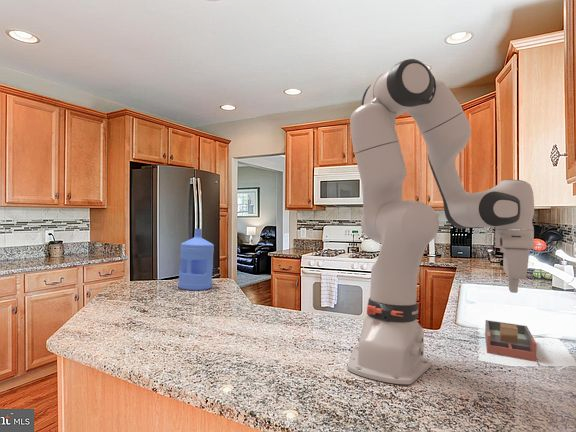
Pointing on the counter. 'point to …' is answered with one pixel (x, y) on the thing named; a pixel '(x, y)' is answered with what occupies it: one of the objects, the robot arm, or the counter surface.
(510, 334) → the maple block
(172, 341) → the counter surface
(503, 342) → the box
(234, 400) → the counter surface
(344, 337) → the counter surface
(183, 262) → the water jug
